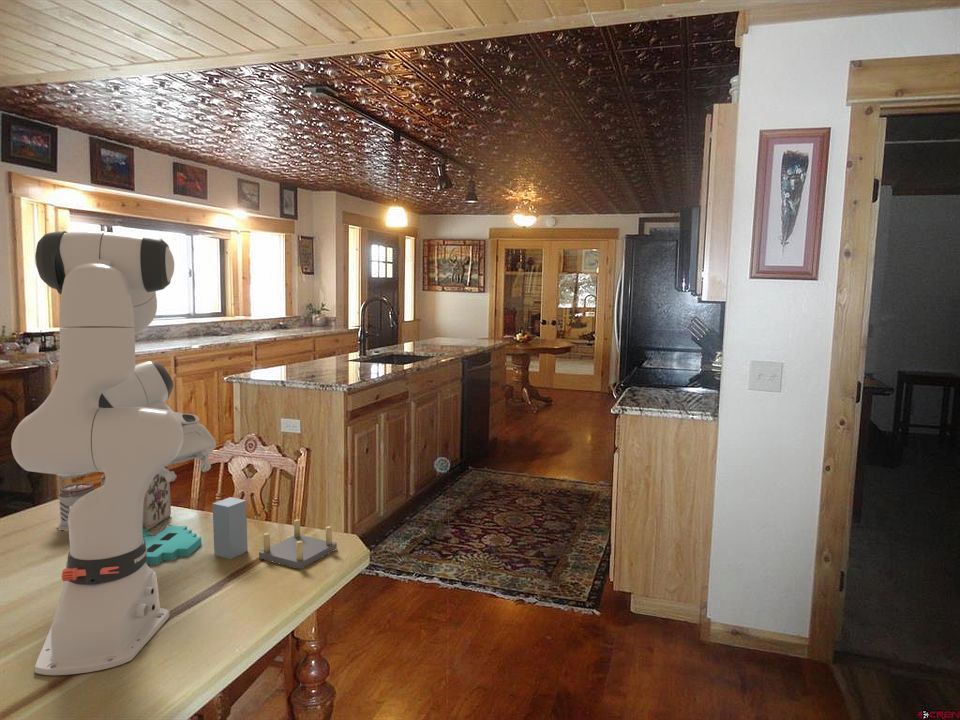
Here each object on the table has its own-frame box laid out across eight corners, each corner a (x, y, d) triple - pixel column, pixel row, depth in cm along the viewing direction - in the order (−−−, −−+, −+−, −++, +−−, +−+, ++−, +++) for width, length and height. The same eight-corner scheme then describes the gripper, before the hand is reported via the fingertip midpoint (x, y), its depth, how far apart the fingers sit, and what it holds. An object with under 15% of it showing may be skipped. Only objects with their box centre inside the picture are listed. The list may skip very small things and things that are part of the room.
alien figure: (80, 569, 134) (172, 571, 134) (80, 559, 134) (172, 561, 134) (134, 534, 154) (214, 535, 154) (133, 525, 154) (213, 526, 153)
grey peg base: (336, 549, 145) (336, 526, 144) (300, 569, 134) (299, 544, 133) (297, 540, 150) (296, 517, 149) (259, 558, 139) (258, 534, 139)
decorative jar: (147, 532, 154) (143, 461, 152) (101, 531, 155) (97, 460, 153) (172, 515, 166) (169, 448, 164) (129, 514, 167) (126, 448, 165)
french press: (67, 534, 153) (60, 433, 150) (45, 524, 159) (38, 427, 156) (109, 522, 161) (103, 426, 158) (86, 513, 167) (81, 421, 164)
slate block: (230, 559, 139) (228, 506, 138) (214, 554, 141) (212, 503, 140) (247, 551, 143) (246, 500, 142) (232, 546, 146) (230, 497, 144)
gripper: (124, 429, 139) (156, 478, 136) (202, 413, 157) (231, 456, 154) (113, 446, 141) (143, 495, 138) (190, 429, 160) (219, 471, 156)
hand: (190, 474), depth 146 cm, fingers open, 8 cm apart
